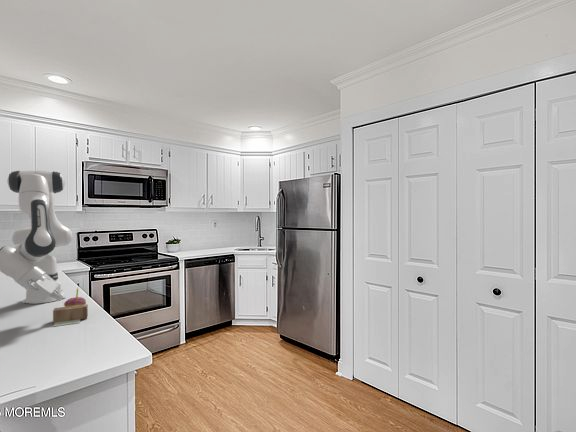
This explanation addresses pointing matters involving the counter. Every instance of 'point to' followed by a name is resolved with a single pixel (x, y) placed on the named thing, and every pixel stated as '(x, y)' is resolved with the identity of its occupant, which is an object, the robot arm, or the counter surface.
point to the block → (70, 313)
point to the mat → (66, 322)
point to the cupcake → (75, 301)
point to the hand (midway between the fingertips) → (61, 298)
